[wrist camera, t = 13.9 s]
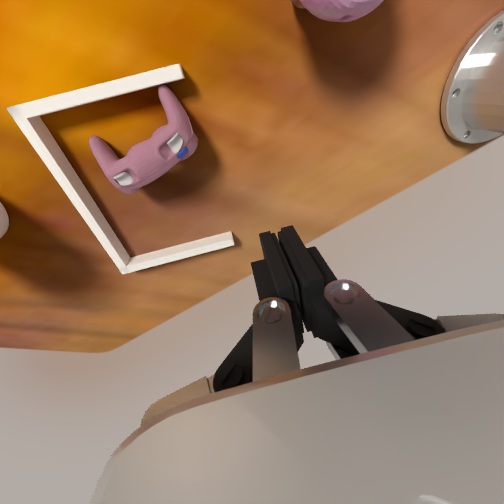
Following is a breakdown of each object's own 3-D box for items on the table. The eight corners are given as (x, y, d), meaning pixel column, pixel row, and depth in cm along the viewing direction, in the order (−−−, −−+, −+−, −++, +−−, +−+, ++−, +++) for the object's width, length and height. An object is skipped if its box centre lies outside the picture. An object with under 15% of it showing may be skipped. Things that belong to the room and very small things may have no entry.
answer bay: (180, 65, 22) (178, 63, 20) (233, 237, 33) (234, 245, 31) (21, 106, 22) (5, 107, 20) (126, 265, 33) (122, 274, 31)
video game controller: (122, 166, 27) (129, 211, 24) (83, 136, 23) (84, 183, 20) (193, 117, 26) (211, 157, 22) (164, 75, 22) (180, 115, 18)
